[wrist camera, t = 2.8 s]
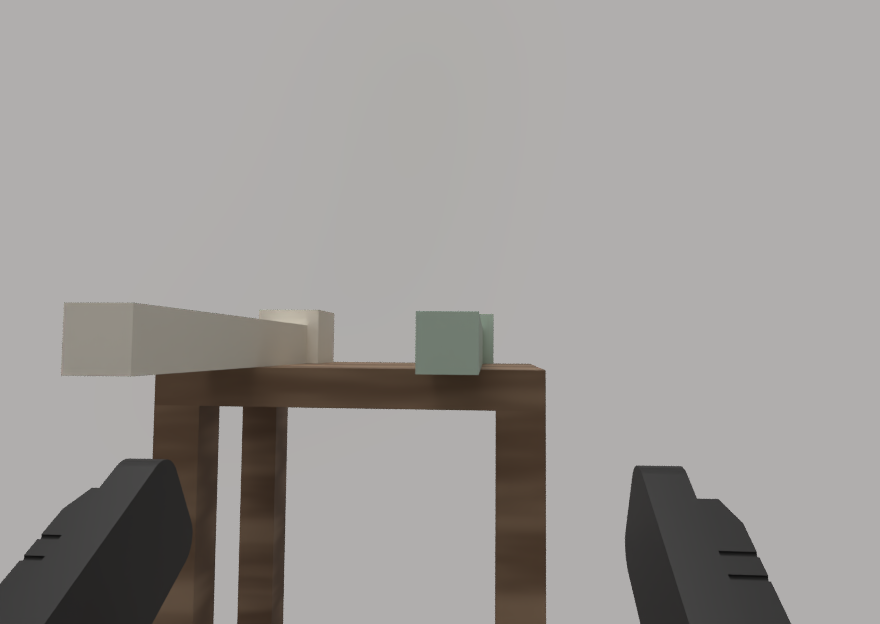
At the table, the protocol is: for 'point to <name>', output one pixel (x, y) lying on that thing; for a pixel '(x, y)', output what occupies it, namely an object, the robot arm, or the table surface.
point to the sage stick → (453, 342)
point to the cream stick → (187, 339)
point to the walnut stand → (265, 454)
